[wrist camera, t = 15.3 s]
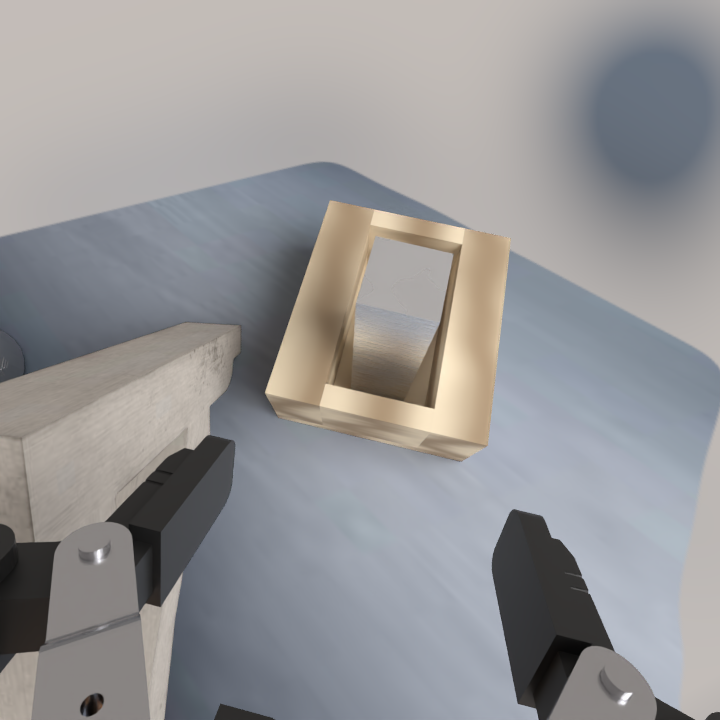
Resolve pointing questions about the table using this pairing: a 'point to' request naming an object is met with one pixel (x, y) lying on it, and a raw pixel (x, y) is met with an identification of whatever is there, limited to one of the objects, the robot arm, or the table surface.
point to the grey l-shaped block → (397, 315)
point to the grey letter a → (105, 457)
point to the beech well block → (441, 362)
